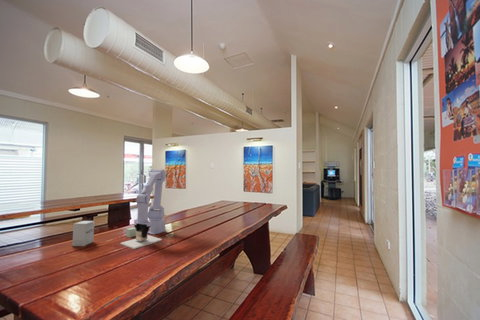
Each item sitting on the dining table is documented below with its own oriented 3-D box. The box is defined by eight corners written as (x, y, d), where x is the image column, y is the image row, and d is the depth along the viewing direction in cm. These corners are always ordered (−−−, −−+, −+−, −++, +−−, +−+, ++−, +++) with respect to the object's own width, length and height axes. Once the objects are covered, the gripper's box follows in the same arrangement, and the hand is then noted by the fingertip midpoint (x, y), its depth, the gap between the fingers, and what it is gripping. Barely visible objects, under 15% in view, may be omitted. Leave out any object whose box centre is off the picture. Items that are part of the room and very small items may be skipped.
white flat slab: (148, 236, 137) (148, 235, 137) (161, 240, 130) (162, 239, 130) (120, 244, 122) (120, 242, 122) (133, 249, 114) (133, 247, 115)
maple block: (142, 237, 129) (143, 229, 129) (147, 239, 126) (147, 230, 127) (135, 239, 125) (136, 231, 125) (140, 241, 123) (140, 232, 123)
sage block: (132, 234, 141) (132, 227, 141) (136, 235, 138) (136, 228, 139) (125, 236, 137) (126, 228, 137) (129, 237, 134) (129, 229, 135)
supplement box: (84, 246, 118) (85, 223, 119) (71, 246, 118) (72, 223, 119) (93, 242, 126) (94, 220, 126) (81, 241, 126) (82, 220, 126)
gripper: (129, 213, 127) (128, 236, 127) (143, 216, 119) (142, 240, 119) (140, 211, 133) (139, 233, 133) (154, 214, 125) (153, 237, 125)
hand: (141, 236), depth 126 cm, fingers closed on maple block, 4 cm apart
